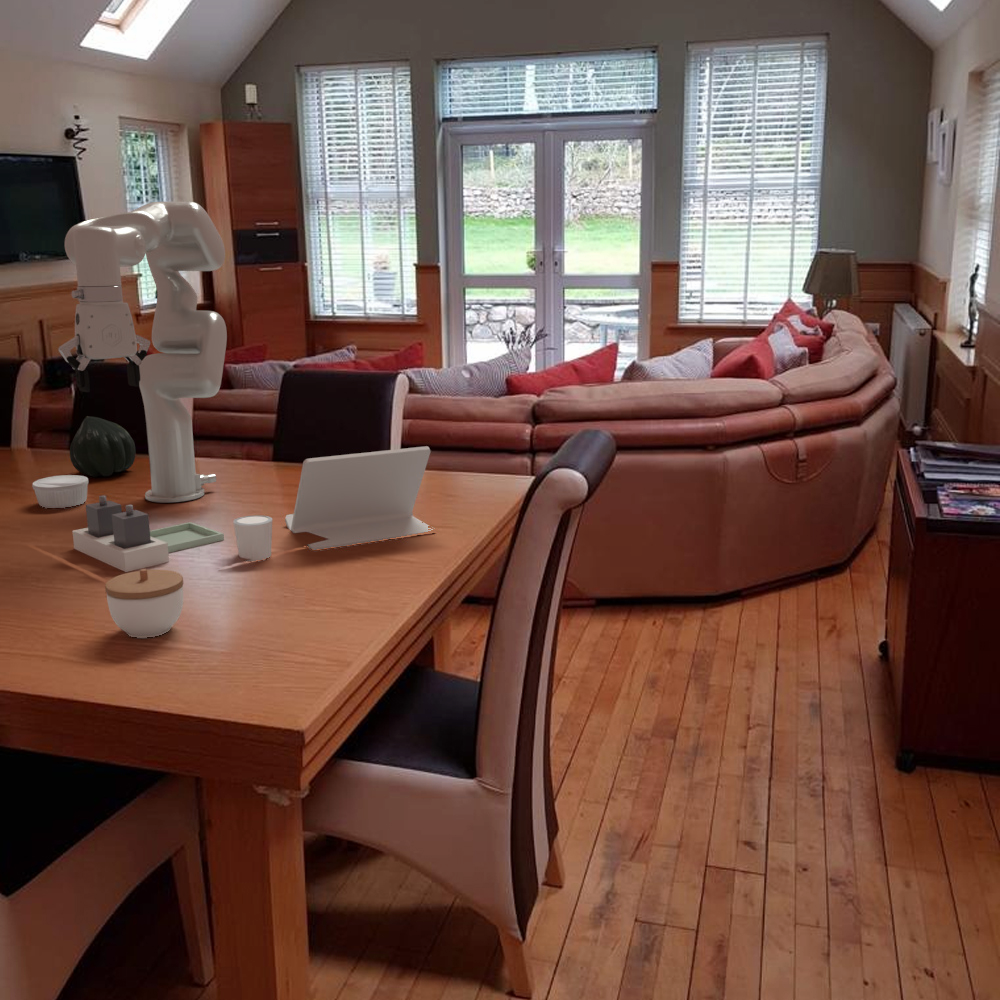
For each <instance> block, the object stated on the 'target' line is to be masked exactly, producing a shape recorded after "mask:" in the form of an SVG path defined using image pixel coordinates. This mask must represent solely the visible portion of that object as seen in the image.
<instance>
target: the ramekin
mask: <svg viewBox="0 0 1000 1000" xmlns="http://www.w3.org/2000/svg"><path fill="white" fill-rule="evenodd" d="M88 485H89V478H88V477H87V476H84V475H74V474H73V475H72V474H67V475H65V474H64V475H63V474H62V475H53V476H48V477H44V478H39V479H36V480H35V481H33V482H32V489H33V490H34V493H35V498H36V501H37V503H38V504H39V506H40V507H41V506H42V507H41V508H43V507H45V508H44V509H47V508H64V509H66V508H65V507H71V506H76V505H79V506H81V505H80V504H82V505H84V504H85V503H86V501H87V498H88ZM84 502H85V503H84ZM76 507H77V506H76ZM71 508H72V507H71Z"/></svg>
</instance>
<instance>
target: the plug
mask: <svg viewBox="0 0 1000 1000" xmlns="http://www.w3.org/2000/svg"><path fill="white" fill-rule="evenodd" d="M149 517H150V516H149V514H148V513H146V512H144V511H141V510H137V509H134V506H133V504H126V505H125V511H123V512H122V513H117V514H112V523H113V533H114V543H115V545H116V546H118V547H121V548H123V549H127V548H131V547H136V546H140V545H145V544H149V543H151V539H150V531H151V529H150V518H149Z"/></svg>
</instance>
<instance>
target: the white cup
mask: <svg viewBox="0 0 1000 1000" xmlns="http://www.w3.org/2000/svg"><path fill="white" fill-rule="evenodd" d="M232 522H233V528H234V534H235V539H236V546H237V551H238V557H240V558H242V559H245V560H246V561H256V560H263V559H266V558H269V557H270V556H271V557H272V540H273V517H271V516H267V515H259V514H258V515H247V516H241V517H237V518H235V519H233V521H232ZM271 557H270V558H271ZM270 558H269V559H270ZM246 561H245V562H246ZM263 561H264V560H263Z"/></svg>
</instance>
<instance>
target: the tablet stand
mask: <svg viewBox="0 0 1000 1000" xmlns="http://www.w3.org/2000/svg"><path fill="white" fill-rule="evenodd" d="M431 452H432V450H431V449H430V447H429V446H427V445H426V446H416V447H408V448H397V449H388V450H378V451H371V452H367V451H366V452H361V453H359V452H358V453H349V454H348V453H347V454H341V455H339V454H338V455H331V456H320V457H312V458H311V457H310V458H305V459H304V460H303V462H302V468H301V473H300V478H299V484H298V489H297V495H296V500H295V505H294V509H293V510H294V511H293V513H291V514H286V516H285V518H284V522H285V524H286V526H287V529H288V530H290V531H291V532H292V533H293V534H298V533H305V532H306V533H310V534H312V535H316V536H319V537H321V538H325V540H320V541H316V542H313V543H310V544H309V543H308V544H306V545H307V546H308V547H309V548H308V547H307V546H306V547H307V548H308V549H310V548H311V549H313V550H317V549H324V548H331V547H339V546H347V545H352V544H357V543H365V542H371V541H379V540H383V539H390V538H396V537H401V536H407V535H412V534H418V533H424V532H428V531H431V530H433V529H431V528H428V526H430V525H429V524H427V523H425V522H424V521H422V520H420V519H418V518H417V517H415V516H414V515H413V512H414V511H413V509H414V507H415V504H416V500H417V498H418V497H417V496H418V493H419V491H420V487H421V484H422V481H423V477H424V474H425V470H426V469H427V465H428V462H429V458H430V455H431ZM422 522H423V523H422ZM428 529H431V530H428ZM347 547H348V546H347ZM311 549H310V550H311Z"/></svg>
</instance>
